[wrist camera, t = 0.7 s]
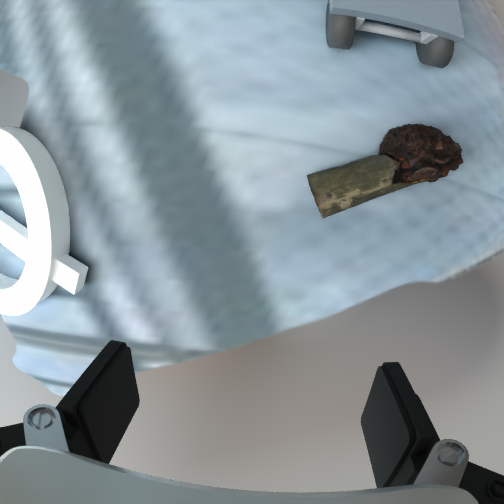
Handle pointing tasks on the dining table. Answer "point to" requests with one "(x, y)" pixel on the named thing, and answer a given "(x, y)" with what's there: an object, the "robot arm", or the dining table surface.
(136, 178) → the dining table surface
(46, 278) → the ring with crossbar
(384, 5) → the trolley
